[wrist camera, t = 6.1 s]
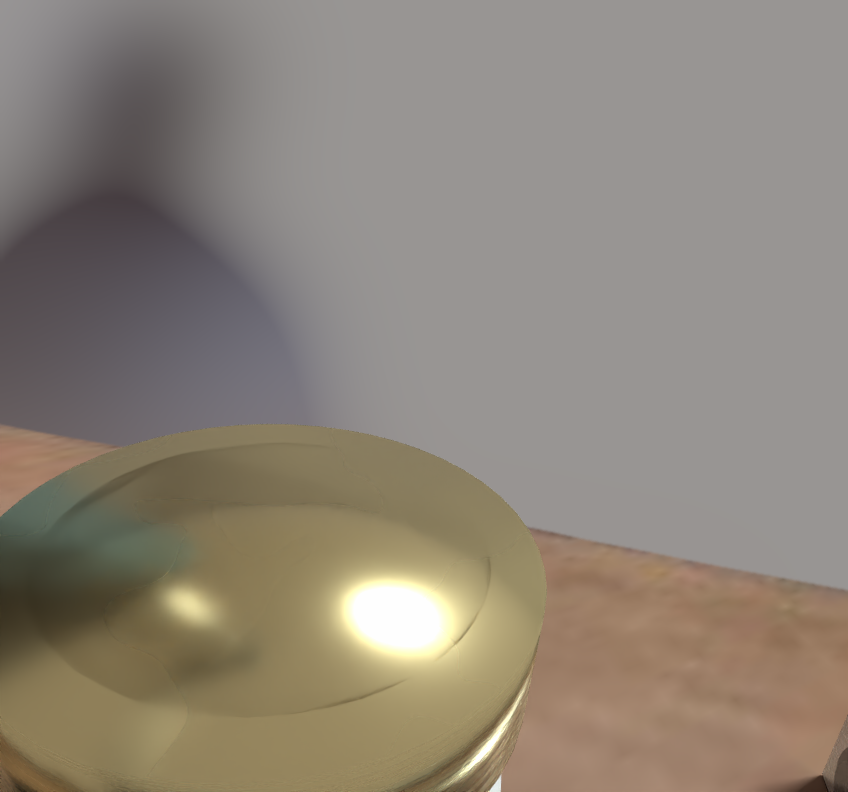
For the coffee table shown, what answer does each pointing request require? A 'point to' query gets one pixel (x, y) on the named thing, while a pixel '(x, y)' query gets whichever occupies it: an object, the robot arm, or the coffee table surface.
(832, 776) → the grey link plate
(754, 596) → the coffee table surface
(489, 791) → the robot arm
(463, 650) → the pin
